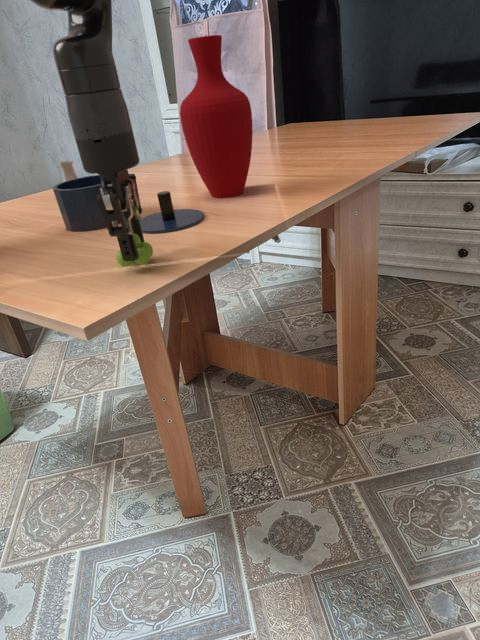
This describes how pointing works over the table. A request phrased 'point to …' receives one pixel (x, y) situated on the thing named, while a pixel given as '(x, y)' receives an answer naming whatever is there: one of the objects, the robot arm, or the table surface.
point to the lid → (170, 217)
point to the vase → (217, 123)
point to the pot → (80, 203)
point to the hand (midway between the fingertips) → (134, 252)
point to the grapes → (143, 252)
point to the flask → (67, 170)
